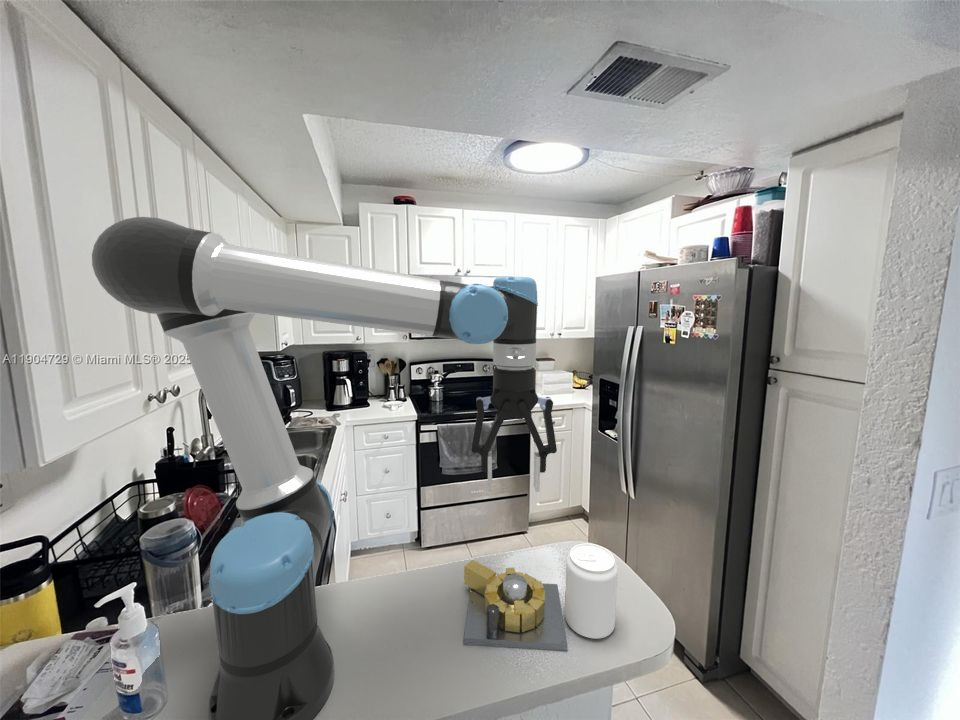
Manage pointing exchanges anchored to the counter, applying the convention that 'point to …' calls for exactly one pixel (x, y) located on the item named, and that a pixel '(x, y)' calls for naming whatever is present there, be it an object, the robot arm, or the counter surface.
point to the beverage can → (591, 590)
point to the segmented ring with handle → (492, 589)
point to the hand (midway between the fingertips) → (513, 487)
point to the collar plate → (544, 636)
